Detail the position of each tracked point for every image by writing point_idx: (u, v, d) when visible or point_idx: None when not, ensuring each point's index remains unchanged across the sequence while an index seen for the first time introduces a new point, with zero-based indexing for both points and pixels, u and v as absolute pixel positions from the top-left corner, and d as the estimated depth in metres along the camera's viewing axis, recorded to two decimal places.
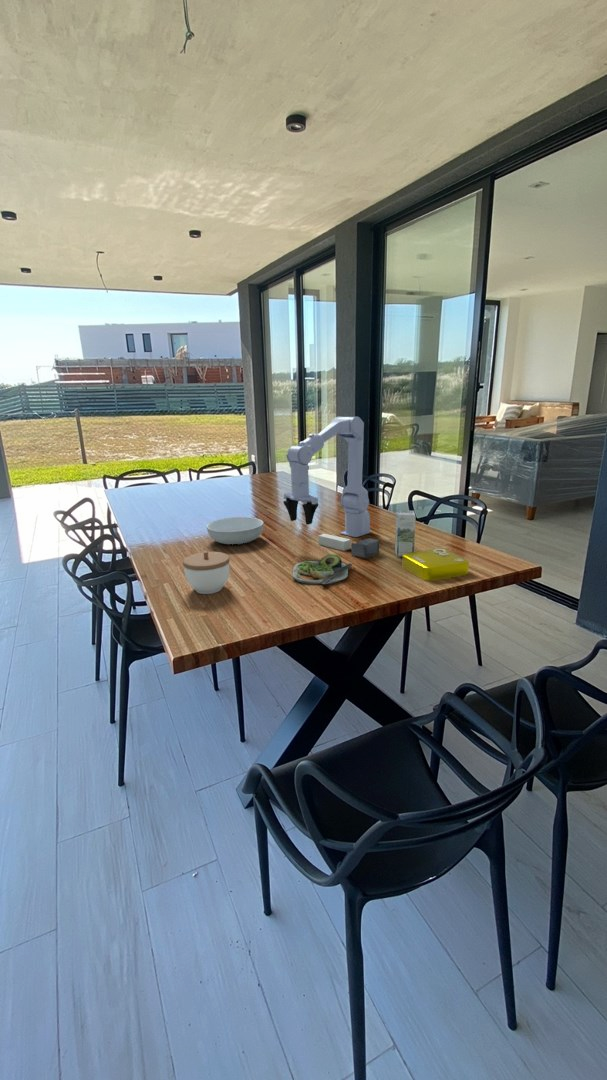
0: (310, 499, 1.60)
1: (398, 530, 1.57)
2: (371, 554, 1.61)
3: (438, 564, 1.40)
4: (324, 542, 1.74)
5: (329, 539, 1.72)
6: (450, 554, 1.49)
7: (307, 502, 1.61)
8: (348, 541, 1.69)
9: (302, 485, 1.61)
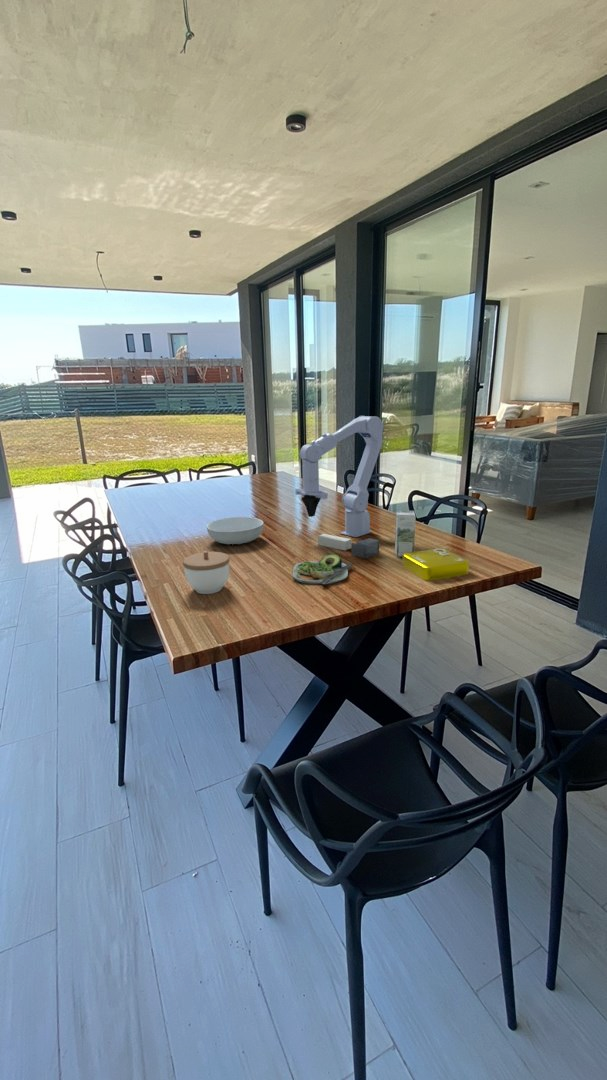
0: (320, 494, 1.71)
1: (398, 530, 1.57)
2: (371, 554, 1.61)
3: (438, 564, 1.41)
4: (324, 542, 1.74)
5: (329, 539, 1.72)
6: (450, 554, 1.49)
7: (310, 496, 1.75)
8: (349, 541, 1.69)
9: (313, 481, 1.72)
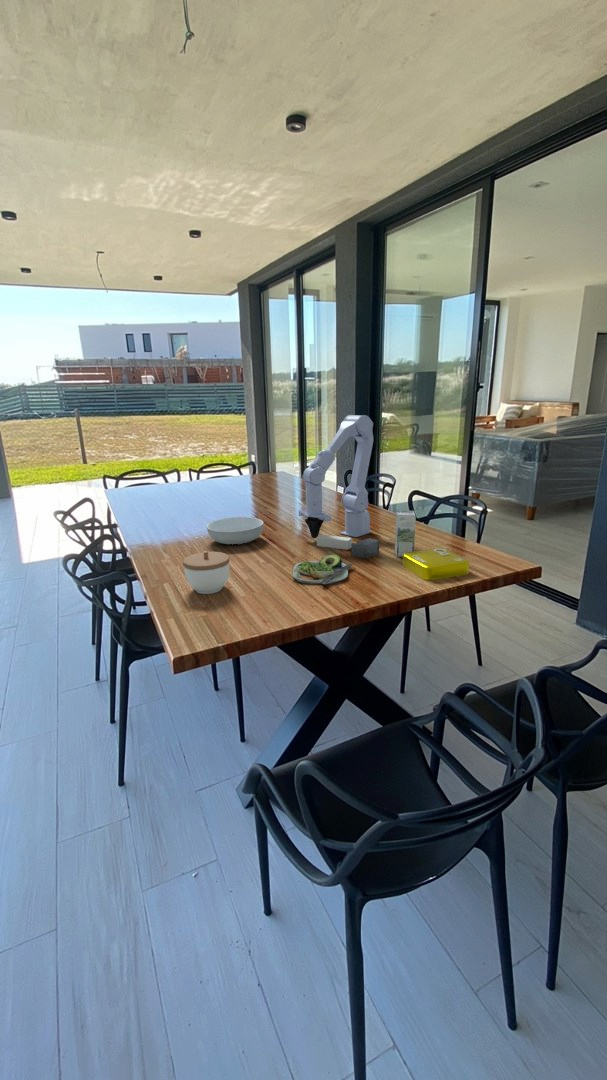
0: (323, 517, 1.73)
1: (398, 530, 1.57)
2: (371, 554, 1.61)
3: (438, 564, 1.41)
4: (324, 543, 1.73)
5: (330, 539, 1.72)
6: (450, 554, 1.49)
7: (314, 518, 1.77)
8: (350, 540, 1.70)
9: (316, 504, 1.74)
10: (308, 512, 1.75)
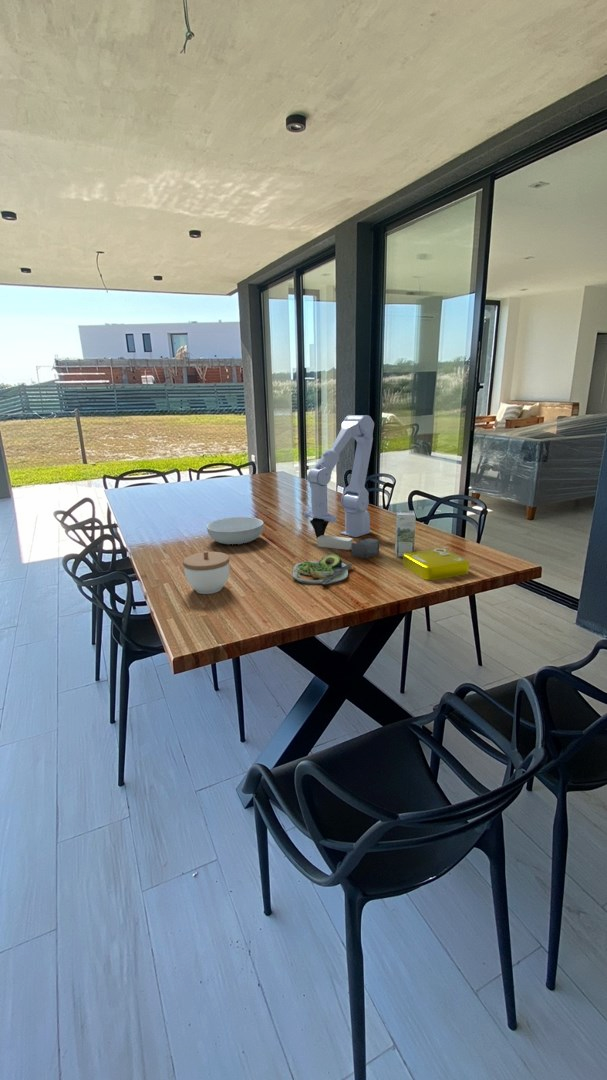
0: (329, 518, 1.71)
1: (398, 530, 1.57)
2: (371, 554, 1.61)
3: (438, 564, 1.41)
4: (325, 544, 1.73)
5: (331, 540, 1.71)
6: (450, 554, 1.49)
7: (319, 519, 1.75)
8: (351, 540, 1.70)
9: (321, 505, 1.72)
10: (313, 513, 1.73)
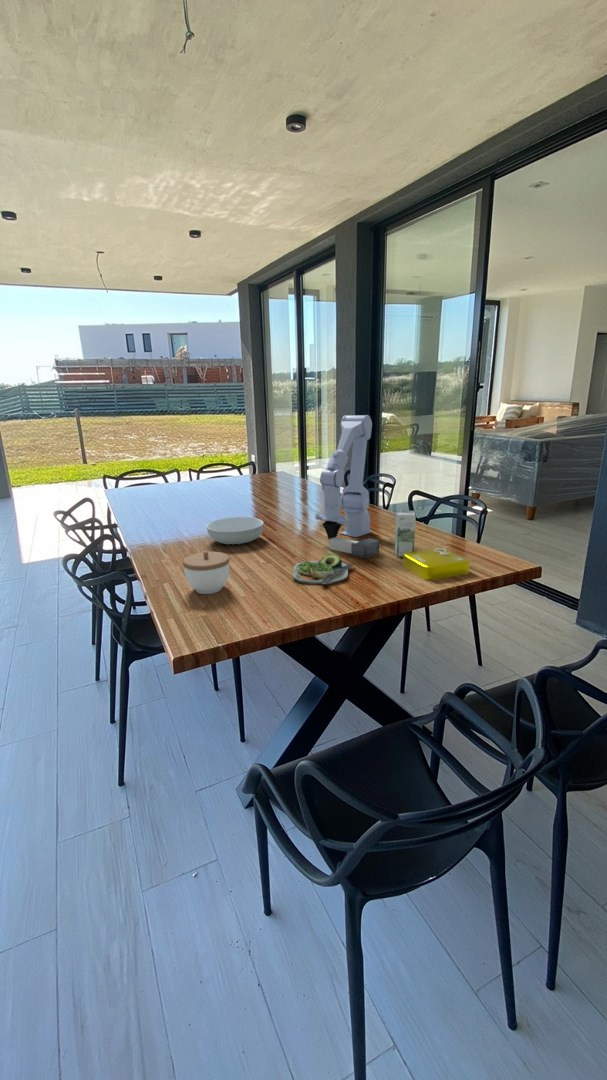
0: (342, 521, 1.66)
1: (398, 530, 1.57)
2: (371, 554, 1.61)
3: (438, 563, 1.41)
4: (336, 546, 1.69)
5: (341, 543, 1.67)
6: (451, 553, 1.49)
7: (331, 522, 1.71)
8: None
9: (334, 507, 1.67)
10: (326, 516, 1.69)
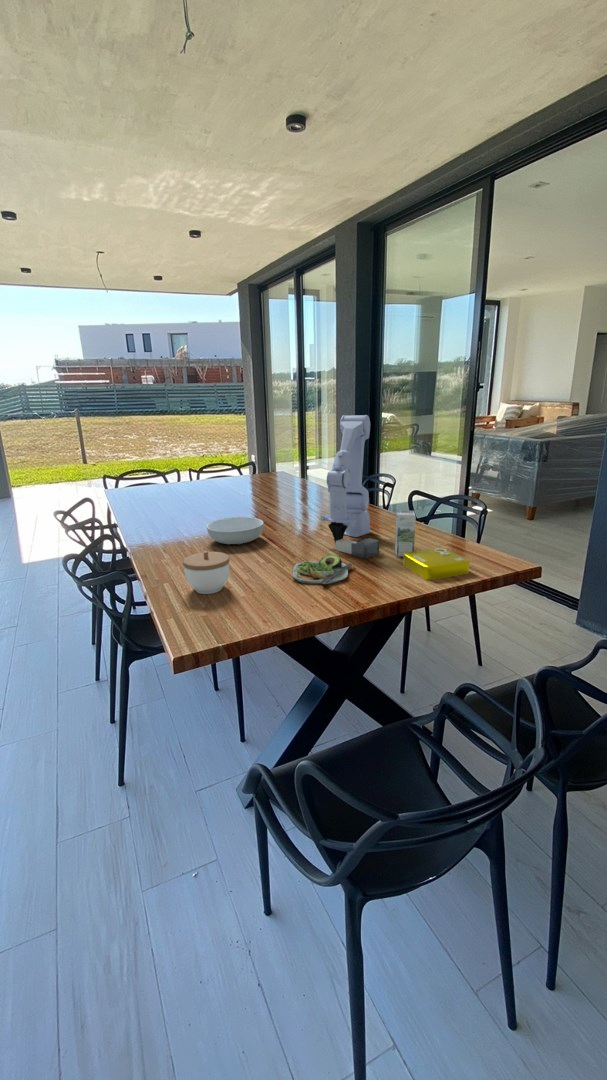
0: (349, 522, 1.64)
1: (398, 530, 1.57)
2: (371, 554, 1.61)
3: (439, 563, 1.41)
4: (342, 548, 1.67)
5: (347, 545, 1.65)
6: (451, 553, 1.49)
7: (338, 523, 1.69)
8: None
9: (341, 508, 1.65)
10: (332, 517, 1.67)
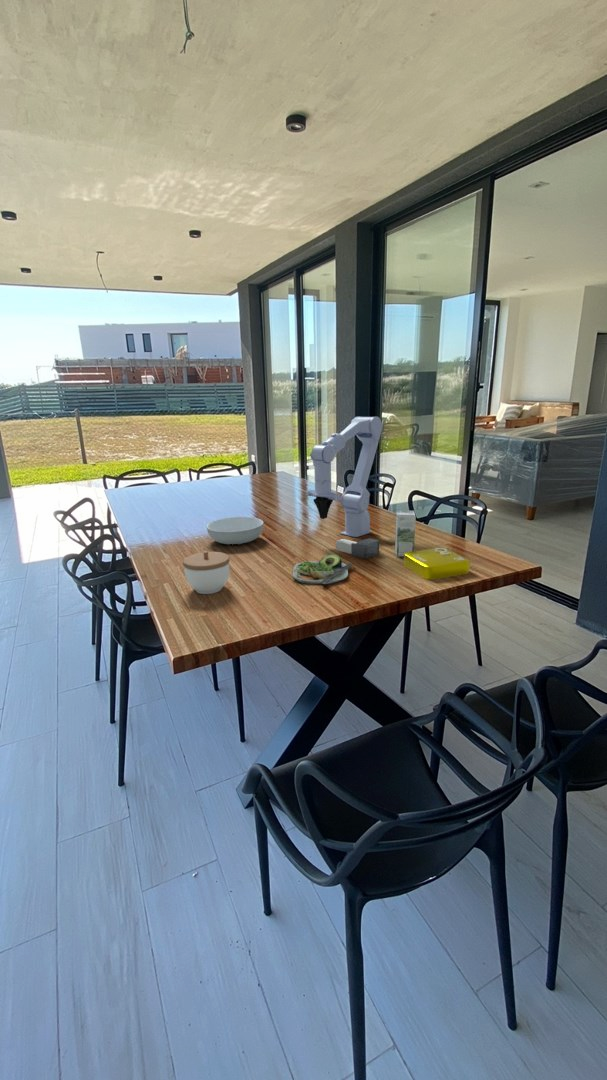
0: (333, 496, 1.67)
1: (398, 530, 1.57)
2: (371, 554, 1.61)
3: (439, 563, 1.41)
4: (342, 548, 1.67)
5: (347, 545, 1.65)
6: (451, 553, 1.50)
7: (323, 497, 1.71)
8: None
9: (325, 482, 1.68)
10: (317, 491, 1.70)
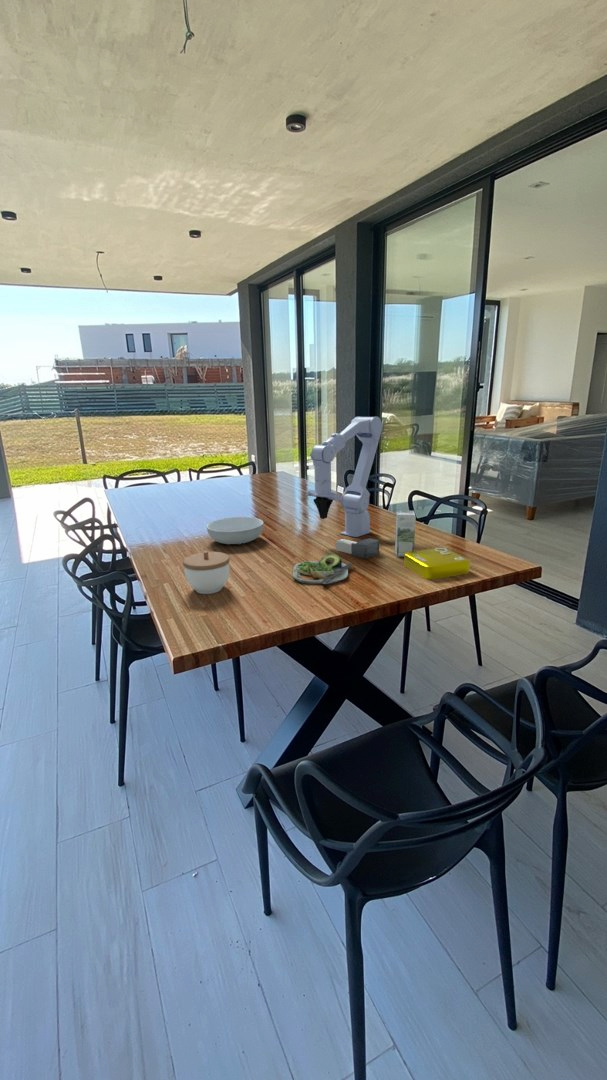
0: (333, 496, 1.67)
1: (398, 530, 1.57)
2: (371, 554, 1.61)
3: (439, 563, 1.41)
4: (342, 548, 1.67)
5: (347, 545, 1.65)
6: (451, 553, 1.50)
7: (323, 497, 1.71)
8: None
9: (325, 482, 1.68)
10: (317, 491, 1.70)
